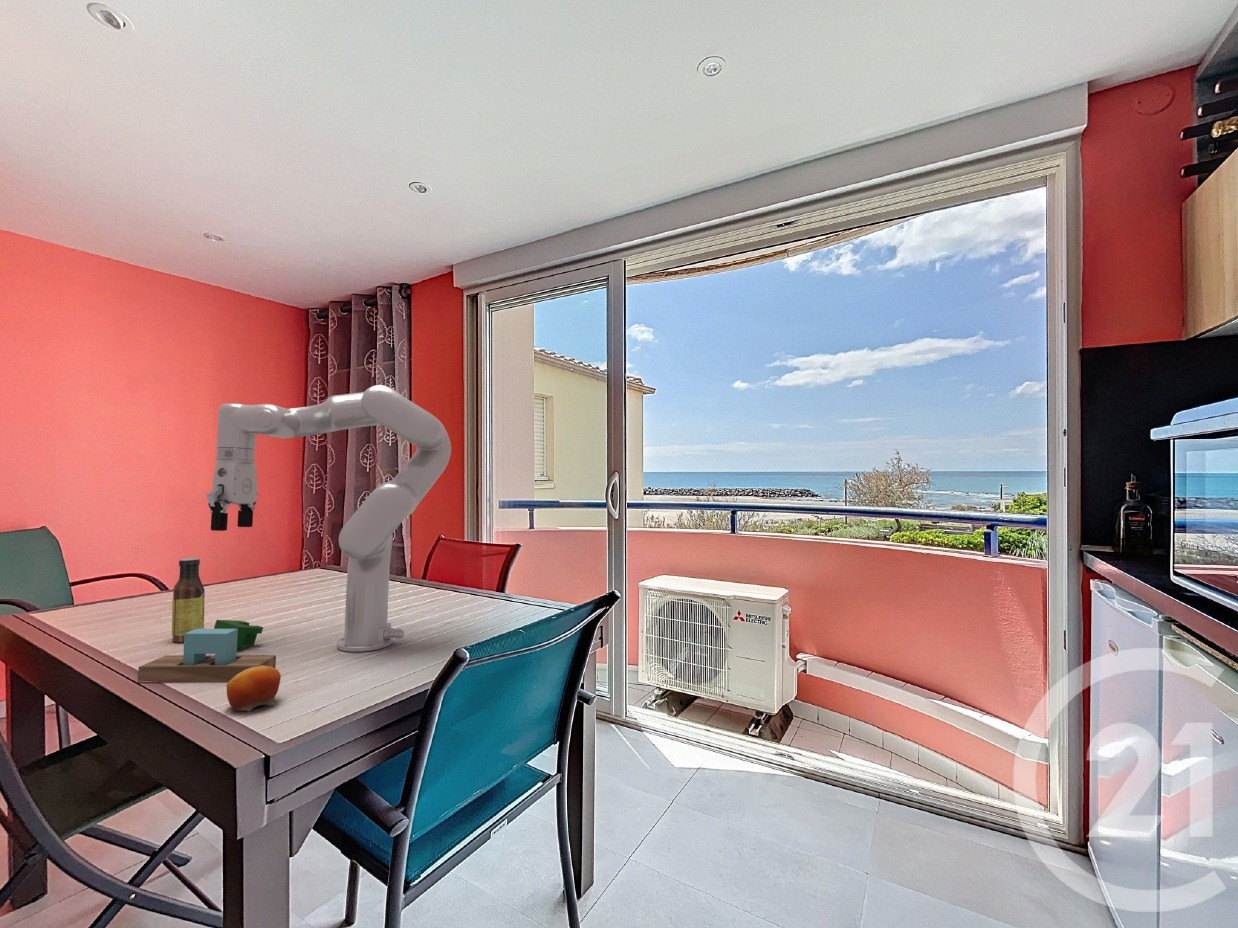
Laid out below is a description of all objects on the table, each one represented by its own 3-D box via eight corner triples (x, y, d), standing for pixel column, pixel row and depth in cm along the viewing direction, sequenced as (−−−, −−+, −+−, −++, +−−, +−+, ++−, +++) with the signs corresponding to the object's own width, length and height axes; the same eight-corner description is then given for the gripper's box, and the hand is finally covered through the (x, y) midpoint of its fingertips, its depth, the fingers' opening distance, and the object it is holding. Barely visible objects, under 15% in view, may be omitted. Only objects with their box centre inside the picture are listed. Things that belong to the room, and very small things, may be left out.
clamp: (249, 665, 129) (268, 631, 129) (222, 666, 124) (241, 631, 124) (233, 637, 136) (251, 605, 136) (207, 636, 131) (225, 603, 131)
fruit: (244, 713, 90) (235, 666, 92) (224, 727, 93) (216, 682, 96) (295, 697, 97) (284, 654, 99) (274, 711, 100) (265, 669, 103)
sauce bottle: (209, 638, 135) (213, 558, 136) (182, 644, 129) (186, 561, 130) (191, 635, 137) (195, 556, 138) (163, 641, 131) (168, 559, 132)
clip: (194, 672, 111) (196, 628, 112) (235, 672, 112) (237, 628, 112) (182, 678, 108) (184, 633, 108) (224, 678, 109) (226, 633, 109)
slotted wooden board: (164, 669, 112) (165, 655, 113) (275, 669, 114) (276, 655, 114) (137, 682, 106) (138, 666, 106) (256, 681, 107) (256, 666, 107)
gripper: (229, 455, 120) (225, 532, 119) (272, 458, 137) (269, 526, 136) (193, 454, 119) (189, 531, 118) (241, 457, 136) (238, 525, 136)
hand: (232, 528), depth 127 cm, fingers open, 9 cm apart
